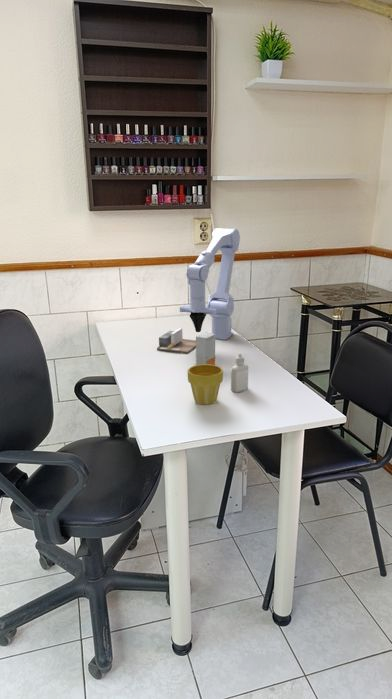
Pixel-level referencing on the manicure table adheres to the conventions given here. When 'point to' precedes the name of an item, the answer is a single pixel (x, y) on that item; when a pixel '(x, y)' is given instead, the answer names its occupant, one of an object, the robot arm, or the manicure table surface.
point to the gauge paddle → (176, 337)
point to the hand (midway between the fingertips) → (198, 331)
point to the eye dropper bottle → (239, 375)
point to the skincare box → (205, 349)
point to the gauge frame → (180, 347)
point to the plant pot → (205, 382)
